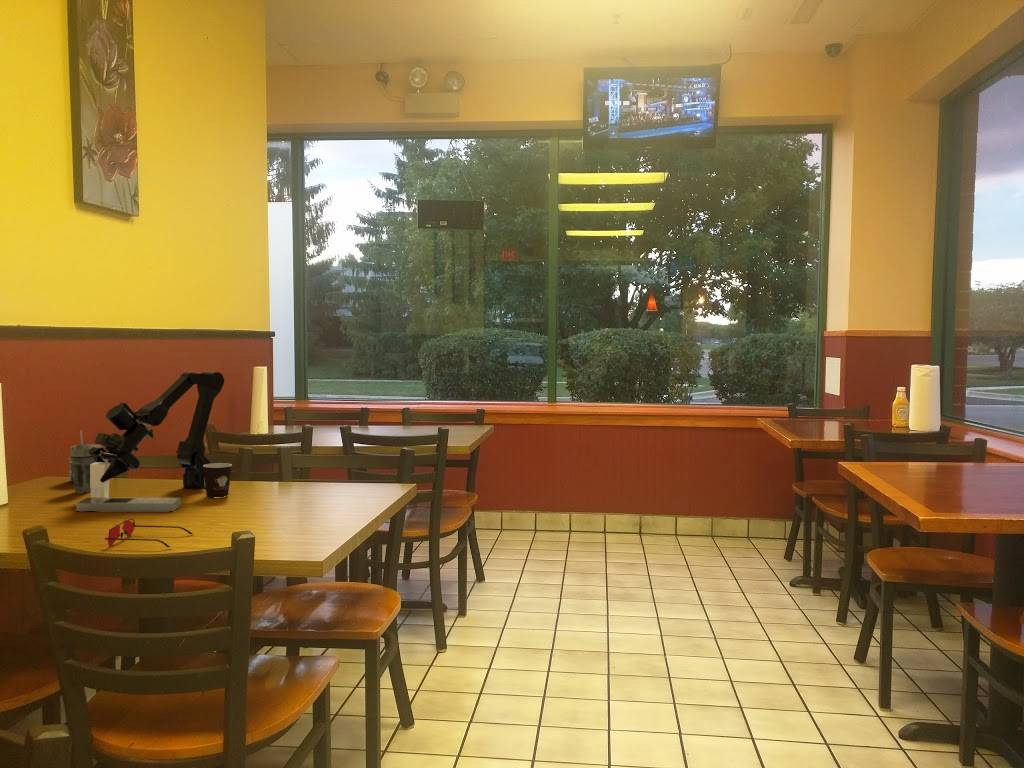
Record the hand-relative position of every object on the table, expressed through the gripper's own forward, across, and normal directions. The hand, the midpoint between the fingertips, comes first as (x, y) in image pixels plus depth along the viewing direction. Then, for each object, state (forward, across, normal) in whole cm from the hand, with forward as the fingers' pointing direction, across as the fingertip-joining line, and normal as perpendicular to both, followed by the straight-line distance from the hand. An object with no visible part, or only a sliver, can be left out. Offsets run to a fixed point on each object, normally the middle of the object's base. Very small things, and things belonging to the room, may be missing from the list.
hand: (95, 480), depth 236 cm
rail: (+4, +14, +6) cm, 15 cm away
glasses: (+17, +50, -6) cm, 53 cm away
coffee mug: (-15, +17, +25) cm, 34 cm away
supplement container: (-8, -36, +18) cm, 41 cm away
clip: (+4, 0, +6) cm, 7 cm away
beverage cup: (0, -19, +11) cm, 22 cm away
